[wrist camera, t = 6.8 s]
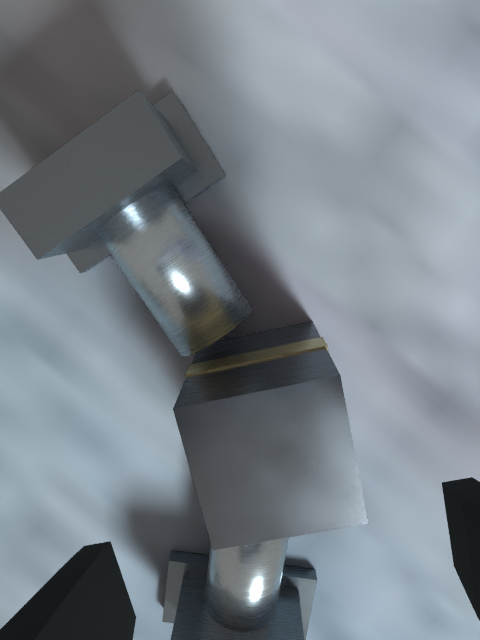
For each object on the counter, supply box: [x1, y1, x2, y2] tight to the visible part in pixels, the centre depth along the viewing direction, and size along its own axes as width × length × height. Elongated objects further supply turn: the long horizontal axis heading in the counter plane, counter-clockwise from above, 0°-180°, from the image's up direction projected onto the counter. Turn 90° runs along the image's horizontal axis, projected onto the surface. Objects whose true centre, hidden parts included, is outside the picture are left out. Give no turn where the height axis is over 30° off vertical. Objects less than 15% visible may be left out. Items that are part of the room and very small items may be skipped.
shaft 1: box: [0, 90, 252, 357], centre depth 15 cm, size 8×6×4 cm
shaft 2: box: [162, 537, 317, 640], centre depth 18 cm, size 8×6×4 cm
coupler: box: [173, 321, 368, 550], centre depth 15 cm, size 5×5×6 cm
